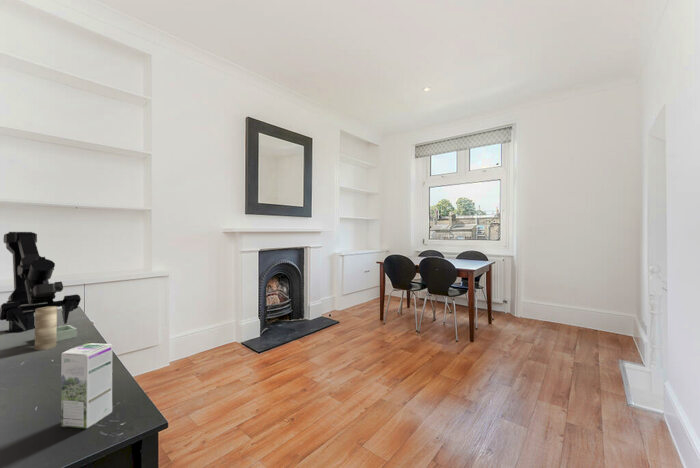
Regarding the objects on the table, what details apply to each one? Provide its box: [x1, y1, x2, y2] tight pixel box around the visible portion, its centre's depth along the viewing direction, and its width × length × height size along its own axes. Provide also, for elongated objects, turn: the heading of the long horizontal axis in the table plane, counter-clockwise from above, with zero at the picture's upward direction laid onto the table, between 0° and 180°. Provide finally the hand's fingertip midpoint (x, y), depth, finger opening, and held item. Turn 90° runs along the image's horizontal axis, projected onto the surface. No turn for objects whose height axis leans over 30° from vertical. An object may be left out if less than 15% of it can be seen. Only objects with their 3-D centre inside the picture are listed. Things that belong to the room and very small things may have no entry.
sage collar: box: [56, 324, 78, 342], centre depth 106 cm, size 9×9×3 cm
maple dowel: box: [34, 306, 58, 351], centre depth 98 cm, size 5×5×13 cm
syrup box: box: [60, 342, 113, 429], centre depth 59 cm, size 6×6×14 cm
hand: (46, 326), depth 97 cm, fingers open, 9 cm apart
